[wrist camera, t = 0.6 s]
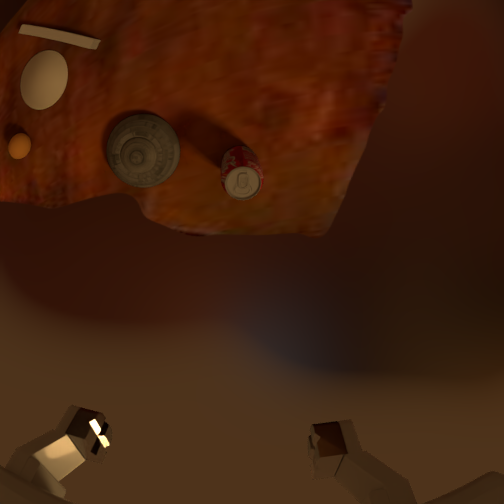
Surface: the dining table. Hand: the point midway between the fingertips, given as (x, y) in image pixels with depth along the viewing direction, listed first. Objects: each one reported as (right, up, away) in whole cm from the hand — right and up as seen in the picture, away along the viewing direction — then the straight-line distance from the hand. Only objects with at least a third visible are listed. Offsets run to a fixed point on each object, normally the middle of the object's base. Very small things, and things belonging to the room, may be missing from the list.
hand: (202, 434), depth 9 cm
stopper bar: (-35, +49, +25) cm, 65 cm away
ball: (-47, +29, +34) cm, 65 cm away
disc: (-40, +41, +29) cm, 65 cm away
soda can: (-1, +24, +46) cm, 52 cm away
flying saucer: (-19, +27, +43) cm, 54 cm away
